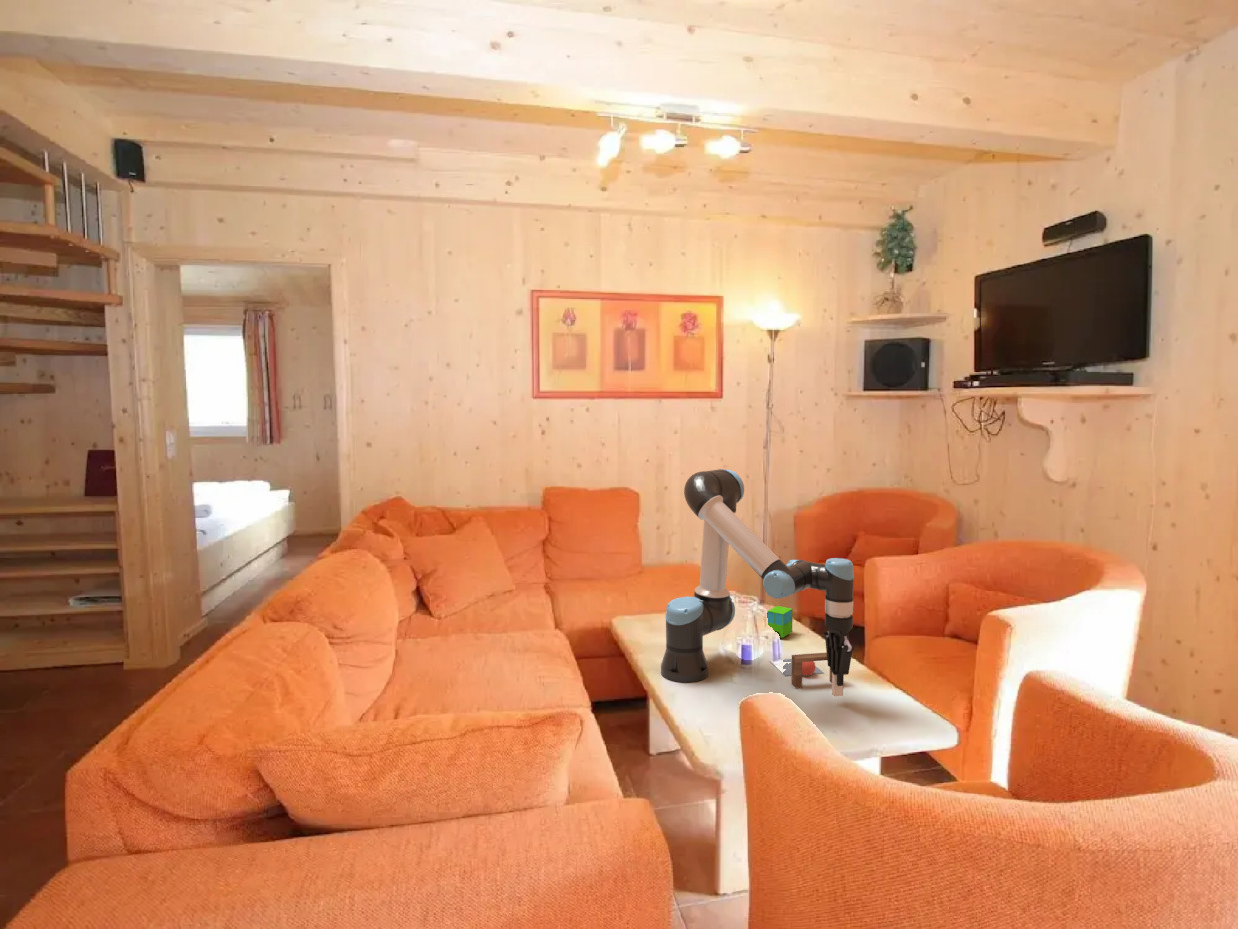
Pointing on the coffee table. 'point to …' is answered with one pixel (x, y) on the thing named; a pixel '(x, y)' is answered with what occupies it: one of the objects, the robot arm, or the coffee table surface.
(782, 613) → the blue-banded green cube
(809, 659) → the bridge
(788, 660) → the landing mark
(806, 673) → the ball
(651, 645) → the coffee table surface
